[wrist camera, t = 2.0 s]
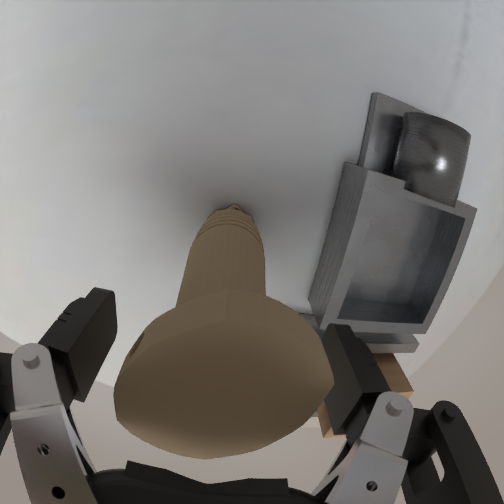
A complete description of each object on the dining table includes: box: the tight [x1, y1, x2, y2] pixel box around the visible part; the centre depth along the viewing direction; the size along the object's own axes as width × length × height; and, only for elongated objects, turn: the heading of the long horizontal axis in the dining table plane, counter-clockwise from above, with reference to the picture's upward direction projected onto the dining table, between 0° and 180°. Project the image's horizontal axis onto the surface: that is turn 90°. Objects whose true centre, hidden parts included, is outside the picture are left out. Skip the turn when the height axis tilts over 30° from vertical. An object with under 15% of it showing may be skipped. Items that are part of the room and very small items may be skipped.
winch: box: [308, 92, 477, 334], centre depth 18 cm, size 16×10×6 cm, turn 170°
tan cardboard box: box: [317, 353, 414, 438], centre depth 22 cm, size 6×6×6 cm
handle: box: [114, 205, 334, 459], centre depth 13 cm, size 5×6×15 cm
